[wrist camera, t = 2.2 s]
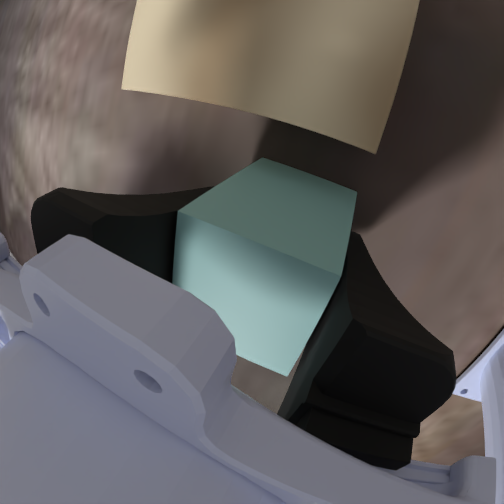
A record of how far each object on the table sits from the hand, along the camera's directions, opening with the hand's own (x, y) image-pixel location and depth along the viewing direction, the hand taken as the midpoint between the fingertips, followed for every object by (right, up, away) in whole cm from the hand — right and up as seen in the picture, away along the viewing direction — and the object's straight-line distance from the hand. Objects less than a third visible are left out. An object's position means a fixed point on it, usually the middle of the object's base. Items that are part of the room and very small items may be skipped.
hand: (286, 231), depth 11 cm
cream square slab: (0, +9, -3) cm, 10 cm away
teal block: (+1, +1, +1) cm, 1 cm away
